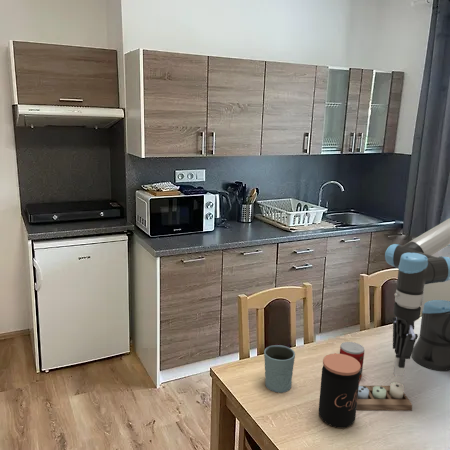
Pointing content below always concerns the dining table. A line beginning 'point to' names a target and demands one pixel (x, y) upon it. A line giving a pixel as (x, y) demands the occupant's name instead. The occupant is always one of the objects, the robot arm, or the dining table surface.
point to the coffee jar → (339, 390)
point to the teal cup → (278, 368)
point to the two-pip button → (379, 392)
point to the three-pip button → (363, 392)
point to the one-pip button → (396, 390)
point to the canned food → (353, 352)
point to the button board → (384, 402)
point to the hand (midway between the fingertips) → (398, 374)
